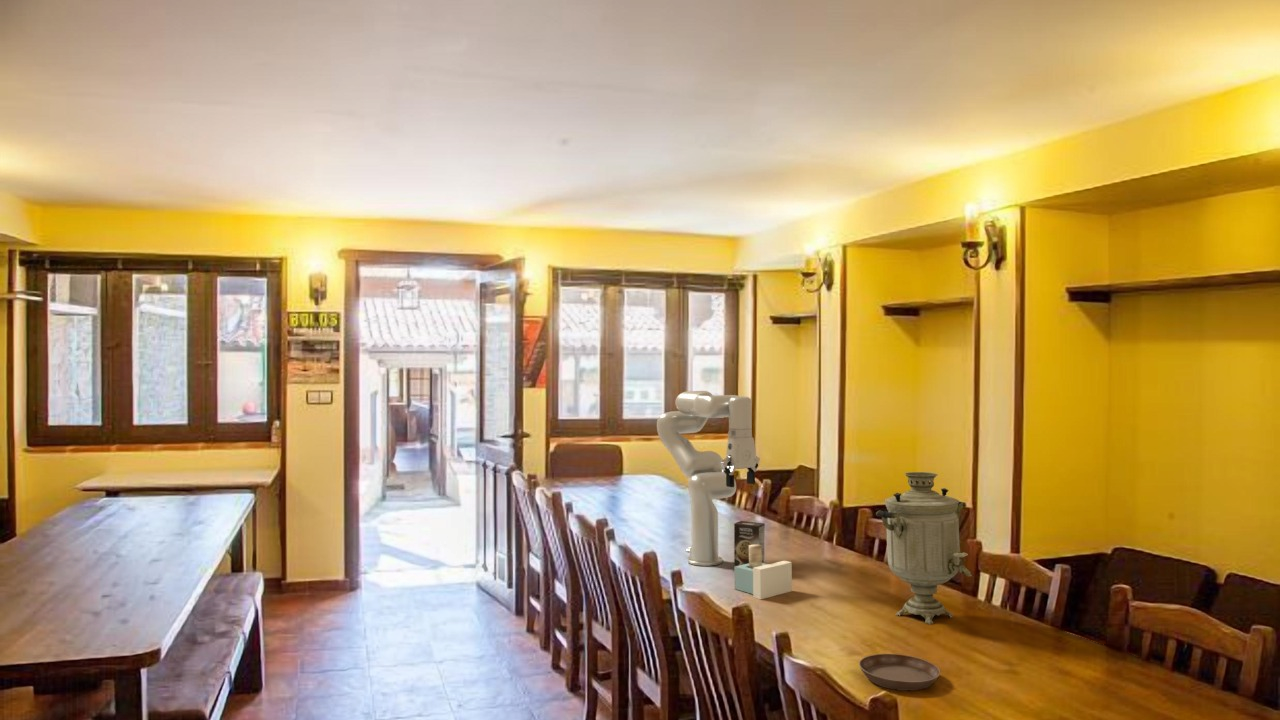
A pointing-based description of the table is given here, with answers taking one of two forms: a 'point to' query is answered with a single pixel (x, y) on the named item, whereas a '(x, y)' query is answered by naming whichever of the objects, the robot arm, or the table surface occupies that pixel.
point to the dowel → (755, 556)
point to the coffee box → (747, 540)
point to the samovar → (923, 542)
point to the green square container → (744, 578)
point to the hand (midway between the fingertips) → (740, 485)
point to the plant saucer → (899, 671)
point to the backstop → (772, 579)
